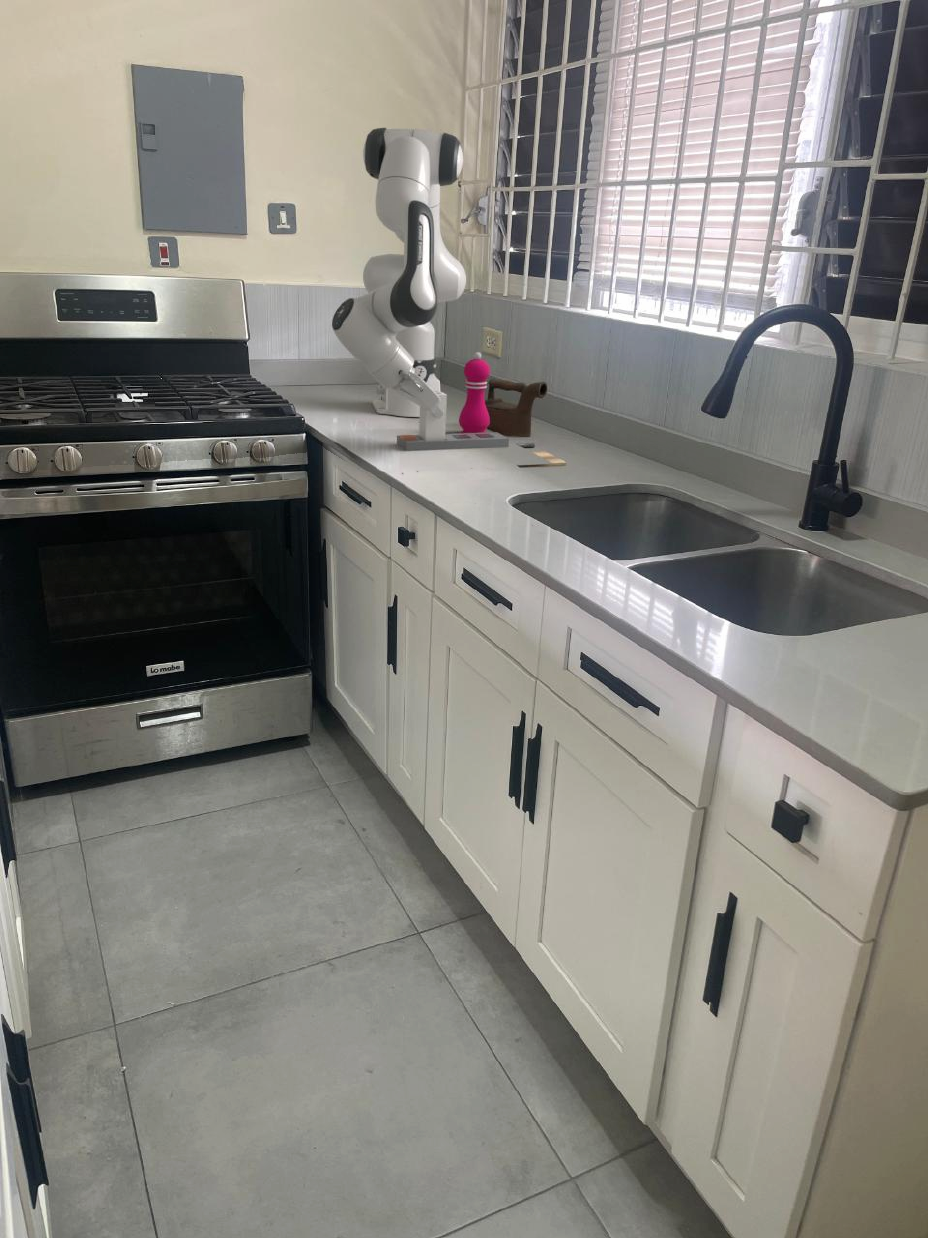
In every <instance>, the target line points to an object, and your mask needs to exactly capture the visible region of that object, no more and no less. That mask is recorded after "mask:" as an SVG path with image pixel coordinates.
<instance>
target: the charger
mask: <svg viewBox="0 0 928 1238" xmlns="http://www.w3.org/2000/svg"><path fill="white" fill-rule="evenodd" d="M434 392H435V393H436V394H437V395H438V396H439V397H440V399H441V402H440V403H439V404H438V407H439V409H440V410H441V411H442V412H443V416H442V417H441V418H440V419H437V418H436V417H434V415H433V414H432V413H431V412H429V411H427V410H426V409H424V408H422V407H421V406H420V417H419V427H418V429H419V430H418V431H419V432H418V435H419V438H420V439H422V440H424V441H440V440H445V434H446V426H447V406H448V405H447V401H448V394H446V393H445V392H443V391H441V390H440V391H434Z"/></svg>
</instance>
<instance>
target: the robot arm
mask: <svg viewBox="0 0 928 1238" xmlns="http://www.w3.org/2000/svg"><path fill="white" fill-rule="evenodd" d="M362 158H363V162H364V166H365V171H366V172H367V174H368V175H369V176H370V177H372V178H373V179H376V180H377V187H376V193H375V213H376V216H377V218H378V220H379V222H381V224H382V225H383V226H384V227H385V228H386V229H388V230H389V231H391V232H393V233H394V234H395V236H396V237H397V238H398V239H399V240H400V241H401V242H402V243H403V248H404V249H403V251H404V252H403V254H396V253H395V254H394V253H388V254H381V255H374V256H372V257H370V258H369V259H368V260H367V262H366V264H365V266H364V267H363V272H362V282H363V284H364V287H365V290H366V292H367V293H366V294H364V295H361V296H358V297H349V298H348V299H346V300H345V301H343V302H342V303H341V304H340V306H339V307H338V308H337V309H336V311H335V312H334V313H333V316H332V320H331V321H332V322H331V328H332V330H333V333H334V335H336V337H337V338H338V341H340V343H341V344H342V346H343V347H344V348H345V349H346V350H347V351H348V352H349V353H350V355H352V356H353V357H354V359H355V360H357V361H359V362H361V363H362V364H363V365H364V367H365V368H366V369H365V370H366V371H367V372H368V374H370V376H372V378H373V379H374V380H375V381H377V383H378V384H379V385H376V394H377V395H380V399H374V400H373V399H372V406H373V407H374V410H375V411H376V413H377V414H380V415H391V416H398V417H406V418H407V417H409V418H411V417H412V418H420V406H421V407H422V408H424V409H426V410H427V411H429V412H431V413H432V414H433V415H434V417H436V418H437V419H440V418H441V417H442V416H443V412H442V411H441V410H440V409H439V407H438V404H439V403H440V402H441V399H440V397H439V396H438V395H437V394H436V393H435V392H434V391H441V382H440V380H439V378H437V377H436V375H435V373H436V368H437V361H436V358H435V343H436V342H435V341H436V340H435V338H436V337H435V336H436V330H435V328H434V325H433V324H432V323H431V322H430V321H432V320H433V318H434V317H435V315H436V311H437V309H438V303H445V302H451V301H457V300H458V299H459V298H460V297H461V296H462V295H463V293H464V291H465V289H466V286H467V285H466V284H467V274H466V271H465V268H464V267H463V265H462V263H461V262H460V261H459V260H458V259H457V258H456V257H455V256H453V255H452V253H450V252H449V250H448V249H447V247H446V245H445V243H444V241H443V238H442V234H441V222H440V219H441V217H440V211H441V210H440V209H441V208H440V207H441V187H446V186H449V185H453V184H454V183H455V182H457V181H458V179H459V176H460V174H461V172H462V169H463V167H464V153H463V148H462V146H461V141H460V140H459V139H458V137H456V136H455V135H453V134H449V133H447V132H443V133H441V132H436V131H432V130H427V129H421V128H414V129H413V128H410V129H409V128H387V127H377V128H373V129H371V131H370V132H368V134H367V136H366V139H365V141H364V144H363V149H362Z"/></svg>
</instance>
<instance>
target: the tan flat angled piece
mask: <svg viewBox="0 0 928 1238" xmlns="http://www.w3.org/2000/svg"><path fill="white" fill-rule="evenodd" d="M531 453H532V454H535V455H537V456H538V457H540V458H542V459H544V460H546V461H548V462H549V463H540V464H538V463H537V464H521V465H520V464H519V465H517V464H516V466H517V467H518V468H537V467H539V468H540V467H542V468H543V467H557V466H558V467H560V466H567V465H568V463H567V461H564V460H563V459H561V458H559V457H557V456H555V455H553V454H551V453H549V452H547V451H544V450H539V451H531Z"/></svg>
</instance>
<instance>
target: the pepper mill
mask: <svg viewBox="0 0 928 1238" xmlns="http://www.w3.org/2000/svg"><path fill="white" fill-rule="evenodd" d="M490 374H491V369H490V365H489V364H488V363H487V361H485V360H483V359H482V353H481V352H479V351H477V352H476V351H475V352H474V354H473V359H470V360H468V361H466V364H465V365H464V367H463V375H464V377H465V378H466V380H465V388H466V400H465V403H464V406H463V408H462V409H461V412H460V414H459V418H458V424H459V426H460V427H461V428H462V430H461V431H460V433H487V431H486V430H487V427H488V426H489V424H490V418H489V414H488V411H487V408H486V405H485V393H486V392H485V391H486V389H487V387H488V386H487V384H488V381H487V379H488V378H489V377H490ZM460 433H459V434H460Z"/></svg>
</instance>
